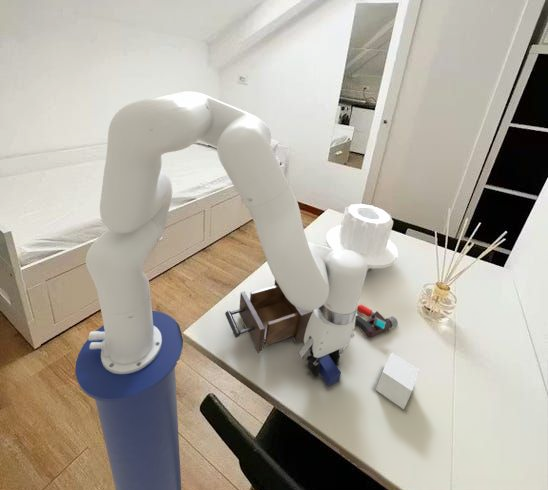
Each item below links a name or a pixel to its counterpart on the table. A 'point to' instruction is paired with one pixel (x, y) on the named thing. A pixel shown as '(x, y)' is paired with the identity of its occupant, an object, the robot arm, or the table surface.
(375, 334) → the toy gun
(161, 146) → the robot arm
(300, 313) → the cabinet
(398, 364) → the white cube
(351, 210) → the flanged gear
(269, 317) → the drawer
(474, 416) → the table surface
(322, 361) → the blue block
